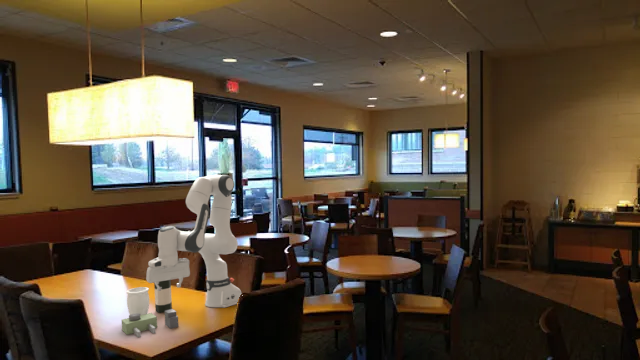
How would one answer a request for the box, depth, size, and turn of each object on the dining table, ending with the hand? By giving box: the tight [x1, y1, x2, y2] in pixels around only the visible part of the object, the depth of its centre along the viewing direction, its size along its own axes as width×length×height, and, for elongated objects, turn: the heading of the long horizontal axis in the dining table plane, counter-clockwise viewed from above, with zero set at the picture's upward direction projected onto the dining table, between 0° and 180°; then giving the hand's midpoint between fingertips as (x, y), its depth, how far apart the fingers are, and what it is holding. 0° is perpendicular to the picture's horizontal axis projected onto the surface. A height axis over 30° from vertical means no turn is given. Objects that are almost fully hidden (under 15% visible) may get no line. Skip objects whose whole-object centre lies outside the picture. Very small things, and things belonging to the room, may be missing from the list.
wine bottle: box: [153, 280, 173, 314], centre depth 240 cm, size 8×8×30 cm
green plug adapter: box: [121, 312, 158, 338], centre depth 211 cm, size 14×15×7 cm
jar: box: [126, 286, 150, 315], centre depth 228 cm, size 11×10×15 cm
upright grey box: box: [164, 308, 179, 330], centre depth 216 cm, size 4×7×7 cm, turn 38°
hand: (169, 288), depth 216 cm, fingers open, 8 cm apart
